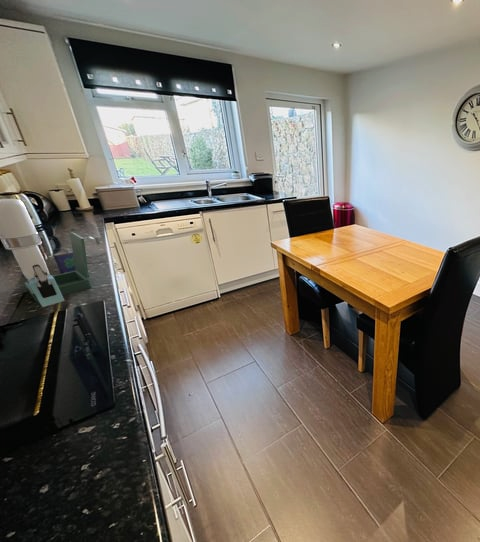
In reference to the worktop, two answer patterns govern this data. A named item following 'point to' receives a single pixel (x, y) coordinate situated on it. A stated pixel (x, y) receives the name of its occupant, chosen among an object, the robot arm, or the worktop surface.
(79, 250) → the bin lid
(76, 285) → the green open tray
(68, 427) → the worktop surface
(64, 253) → the purple box
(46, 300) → the pale green block
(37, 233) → the robot arm
